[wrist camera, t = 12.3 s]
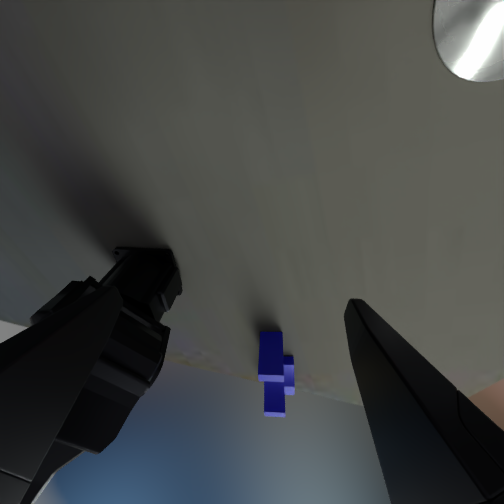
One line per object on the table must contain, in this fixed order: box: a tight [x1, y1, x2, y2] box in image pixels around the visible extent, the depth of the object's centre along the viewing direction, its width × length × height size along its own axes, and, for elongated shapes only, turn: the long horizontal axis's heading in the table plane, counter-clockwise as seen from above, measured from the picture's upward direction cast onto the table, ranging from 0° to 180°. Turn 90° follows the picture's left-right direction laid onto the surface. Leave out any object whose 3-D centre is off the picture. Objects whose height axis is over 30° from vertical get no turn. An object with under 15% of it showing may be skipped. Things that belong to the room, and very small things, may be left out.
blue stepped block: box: [258, 332, 294, 417], centre depth 32 cm, size 12×4×6 cm, turn 6°
